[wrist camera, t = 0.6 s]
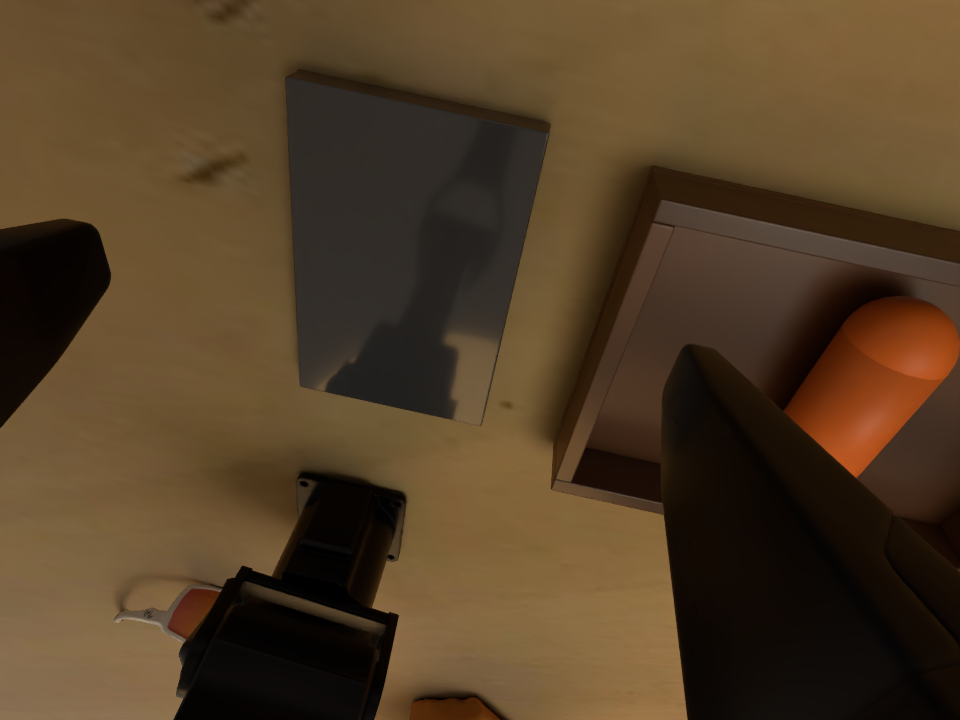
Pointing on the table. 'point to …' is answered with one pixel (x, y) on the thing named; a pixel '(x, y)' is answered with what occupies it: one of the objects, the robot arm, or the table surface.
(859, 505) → the robot arm
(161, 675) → the table surface
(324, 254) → the slate board
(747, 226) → the tray
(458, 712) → the coffee package
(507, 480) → the table surface
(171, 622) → the sunglasses
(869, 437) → the orange capsule
